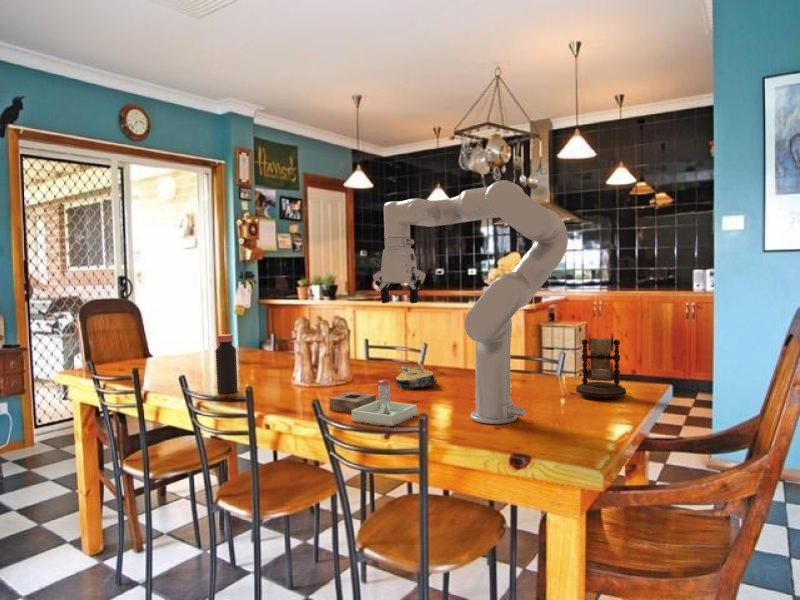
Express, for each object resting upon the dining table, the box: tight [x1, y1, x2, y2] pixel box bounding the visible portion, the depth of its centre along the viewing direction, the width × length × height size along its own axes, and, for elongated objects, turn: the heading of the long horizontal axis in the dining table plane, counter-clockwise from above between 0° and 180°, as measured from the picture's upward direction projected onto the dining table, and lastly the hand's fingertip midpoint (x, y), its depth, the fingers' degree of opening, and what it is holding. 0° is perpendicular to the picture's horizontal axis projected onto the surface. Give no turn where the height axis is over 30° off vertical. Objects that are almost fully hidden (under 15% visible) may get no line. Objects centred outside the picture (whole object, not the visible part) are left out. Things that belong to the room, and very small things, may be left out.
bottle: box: [215, 333, 239, 394], centre depth 199 cm, size 7×7×20 cm
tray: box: [351, 399, 418, 427], centre depth 160 cm, size 13×13×3 cm
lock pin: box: [377, 379, 391, 415], centre depth 159 cm, size 3×3×10 cm
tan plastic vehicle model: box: [395, 365, 438, 390], centre depth 208 cm, size 14×6×30 cm
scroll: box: [575, 332, 627, 402], centre depth 179 cm, size 15×15×20 cm
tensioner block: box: [329, 391, 377, 414], centre depth 172 cm, size 10×10×4 cm
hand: (399, 302), depth 167 cm, fingers open, 9 cm apart
